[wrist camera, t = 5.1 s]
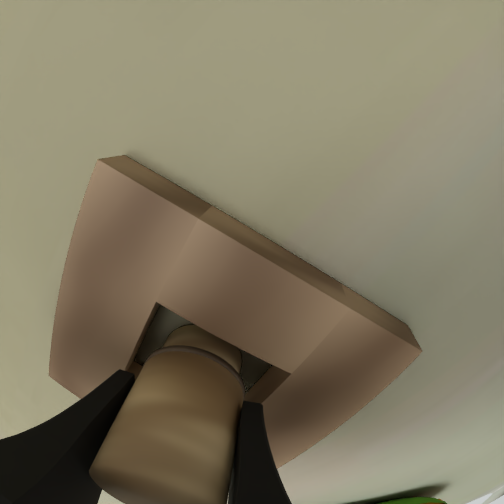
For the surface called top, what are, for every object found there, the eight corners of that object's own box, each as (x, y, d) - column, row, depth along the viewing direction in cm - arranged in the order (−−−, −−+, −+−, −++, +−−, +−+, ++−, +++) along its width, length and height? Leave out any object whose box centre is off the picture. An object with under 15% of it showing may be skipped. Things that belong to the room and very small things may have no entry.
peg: (253, 325, 12) (226, 492, 5) (245, 394, 13) (224, 530, 6) (154, 310, 12) (68, 446, 5) (162, 380, 13) (109, 501, 7)
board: (407, 325, 11) (422, 351, 9) (259, 457, 15) (256, 480, 14) (124, 155, 10) (97, 159, 8) (64, 356, 14) (48, 375, 12)
